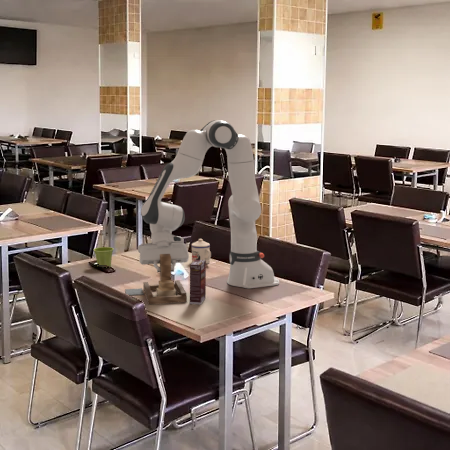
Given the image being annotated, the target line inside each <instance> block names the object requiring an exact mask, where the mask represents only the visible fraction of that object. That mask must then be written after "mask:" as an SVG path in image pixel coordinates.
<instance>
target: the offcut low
mask: <svg viewBox="0 0 450 450" xmlns="http://www.w3.org/2000/svg"><path fill="white" fill-rule="evenodd" d="M176 294H177V291H176V289H175V288H174V290H167V291H161V290H160V289H159V288H157V290H156V296H173V295H176Z"/></svg>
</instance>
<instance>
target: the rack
mask: <svg viewBox="0 0 450 450" xmlns="http://www.w3.org/2000/svg"><path fill="white" fill-rule="evenodd" d="M157 288H159V283H158V284H157V283H156V284H149V281H144V282H143V288H142V290H143V293H144V295H145V298H146V301H147V303H148V305H159V304H161V305H163V304H177V303H188V302H187V301H188V298H187V297H188V295H187V291H186V289H185V288H184V286H183V284H182V283H181V281H180V280H179V279H175V280H174V288H175V290H176V294H177V295H173V296H157V295H156V296H154V295H153V291H157Z"/></svg>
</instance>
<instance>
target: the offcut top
mask: <svg viewBox="0 0 450 450" xmlns="http://www.w3.org/2000/svg"><path fill="white" fill-rule="evenodd" d="M174 283H175V281H172V279H171V280H165V281H160V280H159V281H158V284H159V289H160V290H161V291H167V290H174Z"/></svg>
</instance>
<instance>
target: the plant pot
mask: <svg viewBox="0 0 450 450" xmlns="http://www.w3.org/2000/svg"><path fill="white" fill-rule="evenodd" d="M113 251H114V247H111V246H101V247H95V248H93V252H94V254H95V258H96V265H97V264H99V265H107V266H110V267H109V268H111V267H112V257H113V253H114V252H113Z"/></svg>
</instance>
